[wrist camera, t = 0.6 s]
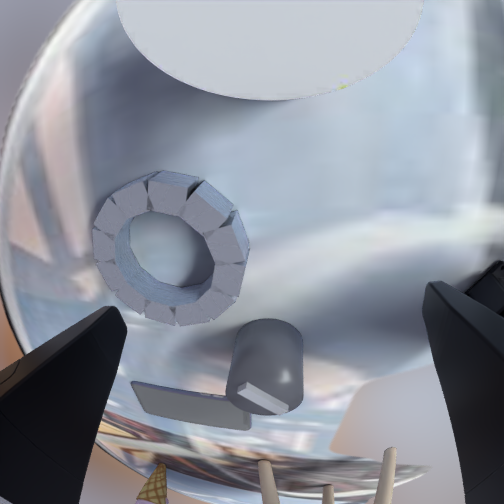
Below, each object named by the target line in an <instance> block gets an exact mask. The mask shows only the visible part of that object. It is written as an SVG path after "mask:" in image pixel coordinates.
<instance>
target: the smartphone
mask: <svg viewBox="0 0 504 504" xmlns="http://www.w3.org/2000/svg"><path fill="white" fill-rule="evenodd" d="M131 386H132V388H133V390H134V392H135V394H136V396H137V398H138V400H139V402H140V404H141V406H142V407H143V409H144V411H145V412H146V413H149V414H152V415H156V416H160V417H165V418H170V419H174V420H179V421H184V422H190V423H195V424H201V425H207V426H213V427H220V428H228V429H235V430H244V431H245V430H249V429H250V428H251V413H248V412H245V411H243V410H241V409H239V408H237V407H235V406H234V405H233V404H232V403H231V402H230V401H229V400H228V399H227V397H226V396H220V395H212V394H205V393H198V392H191V391H185V390H179V389H173V388H168V387H162V386H157V385H152V384H147V383H142V382H137V381H133V382H131Z"/></svg>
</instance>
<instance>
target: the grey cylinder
mask: <svg viewBox="0 0 504 504" xmlns="http://www.w3.org/2000/svg"><path fill="white" fill-rule="evenodd" d="M423 4H424V0H116V5H117V10H118V14H119V17H120V20H121V23H122V25H123V27H124V29H125V31H126V33H127V35H128V37H129V38H130V40H131V41H132V42H133V44H134V45H135V47H136V48H137V49H138V50H139V51H140V52H141V53H142V54H143V55H144V56H145V57H146V58H147V59H148V60H149V61H150V62H151V63H153V64H154V65H155V66H156V67H158V68H159V69H161V70H162V71H164V72H165V73H167V74H168V75H170V76H172V77H174V78H175V79H177V80H180V81H182V82H184V83H186V84H188V85H191V86H193V87H196V88H198V89H202V90H205V91H208V92H211V93H215V94H219V95H223V96H229V97H234V98H242V99H251V100H291V99H300V98H306V97H312V96H317V95H321V94H326V93H330V92H333V91H336V90H339V89H342V88H345V87H348V86H350V85H353V84H355V83H357V82H359V81H361V80H364V79H365V78H367V77H369V76H371V75H372V74H374V73H376V72H377V71H379V70H380V69H382V68H383V67H384V66H386V65H387V64H388V63H389V62H391V61H392V60H393V59H394V58H395V57H396V56H397V55H398V54H399V53H400V52H401V51H402V49H403V48H404V47H405V46H406V45H407V43H408V42H409V40H410V39H411V37H412V35H413V34H414V32H415V30H416V28H417V25H418V23H419V21H420V17H421V14H422V9H423Z"/></svg>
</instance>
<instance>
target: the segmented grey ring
mask: <svg viewBox="0 0 504 504" xmlns="http://www.w3.org/2000/svg"><path fill="white" fill-rule="evenodd" d="M198 178H199V177H195V176H190V175H185V174H179V173H174V172H169V171H162V172H160V173H159V174H158V172H157V171H156V172H154V173H151V174H149V175H147V176H144V177H142V178H139V179H137V180H135V181H132V182H130V183H128V184H126V185H125V186H123V187H122V188H120V189H119V190H117V191H116V192H114V193H113V194H112V195H111V196H110V197H108V198H107V200H106V202H105V203H104V205H103V207H102V209H101V211H100V212H99V214H98V216H97V218H96V220H95V221H94V223H93V224H94V225H95V227H94V228H93V229H92V235H93V250H94V259H96V260H99V261H98V262H97V263H96V265H97V267H98V269H99V271H100V272H101V274H102V276H103V278H104V279H105V281H106V283H107V285H108V286H109V288H110V290H111V291H114V290H119V291H118V292H117V293H116V295H115V296H117V297H118V298H119V299H120V300H122V301H123V302H124V303H125V304H127V305H128V306H129V307H131V308H132V309H133V310H135V311H136V312H137V313H138V314H141V313H142V312H143V311H144V310H145V317H146V318H149V319H153V320H156V321H159V322H163V323H166V324H170V325H173V326H175V324H176V322H178V323H179V325H180V326H186V325H192V324H199V323H205V322H209V321H210V318H212V319H213V320H214V319H216V318H217V317H218V316H219V315H220V314H222V313H223V312H224V311H225V310H226V309H227V308H229V307H230V306H231V305H232V304H233V303H235V302H236V298H237V297H239V293H240V289H241V284H242V280H243V276H244V272H245V267H246V263H247V259H248V254H249V250H250V249H249V248H248V247H249V240H248V238H247V235H246V232H245V229H244V227H243V224H242V221H241V219H240V216H239V213H238V210H237V211H233V212H231V209H232V207H233V204H232V203H231V202H230V201H229V200H227V199H226V198H225V197H224V196H223V195H222V194H220V193H219V192H218V191H217V190H216V189H215V188H213V187H212V186H211V185H210V184H209V183H207V182H206V181H205V180H204V182H203V183H202V184H201V185H200V186H199V187H198V188H197V185H198ZM148 211H155V212H160V213H164V214H169V215H173V216H178V217H180V218H181V219H183V220H184V221H185V222H186V223H187V224H189V225H190V226H191V227H192V228H194V229H195V230H196V231H197V232H198V233H200V234H201V235H202V236H203V237H204V239H205V241H206V243H207V246H208V248H209V250H210V253H211V255H212V257H213V260H214V262H215V267H214V273H213V274H212V275H211V276H210V277H209V278H208V279H207V280H206V281H205V282H204V283H202V284H198V285H193V286H188V287H183V288H180V287H176V286H173V285H169V284H165V283H161V282H159V281H157V280H156V279H155V278H153V277H152V276H151V275H150V274H148V273H147V272H146V271H145V270H143V269H142V268H141V267H140V265H139V264H138V262H137V260H136V258H135V256H134V254H133V252H132V250H131V248H130V223H131V222H132V220H133V219H134V217H135V216H137V215H140V214H142V213H145V212H148Z"/></svg>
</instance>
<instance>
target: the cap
mask: <svg viewBox="0 0 504 504" xmlns="http://www.w3.org/2000/svg"><path fill="white" fill-rule="evenodd" d="M226 397H227V399H228V400H229V401H230V402H231V403H232V404H233V405H234V406H235V407H237V408H239V409H241V410H243V411H245V412H248V413H252V414H257V415H281V414H284V413H287V412H290V411H292V410H294V409H295V408H297V407H298V406H299V405H300V404H301V402H302V400H303V340H302V336H301V334H300V333H299V331H298V330H297V329H296V328H295V327H294V326H292V325H291V324H289V323H287V322H284V321H281V320H277V319H258V320H255V321H252V322H249V323H247V324H246V325H244V326H243V327H242V328H241V329H240V331H239V332H238V334H237V338H236V343H235V348H234V352H233V357H232V362H231V367H230V372H229V376H228V381H227V386H226Z"/></svg>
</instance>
